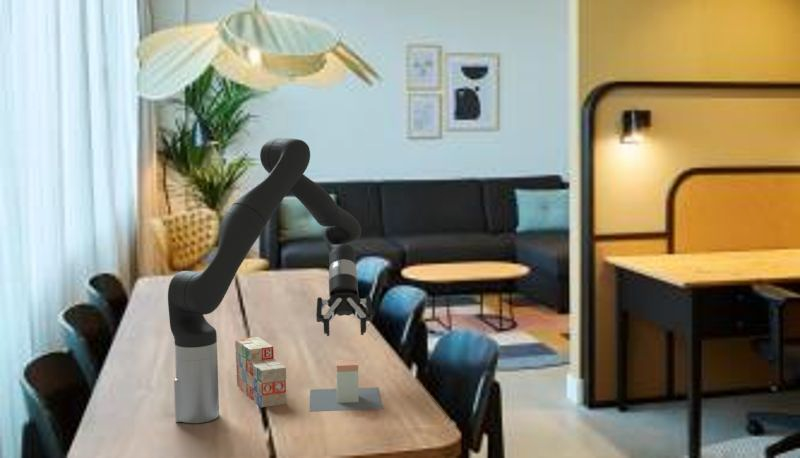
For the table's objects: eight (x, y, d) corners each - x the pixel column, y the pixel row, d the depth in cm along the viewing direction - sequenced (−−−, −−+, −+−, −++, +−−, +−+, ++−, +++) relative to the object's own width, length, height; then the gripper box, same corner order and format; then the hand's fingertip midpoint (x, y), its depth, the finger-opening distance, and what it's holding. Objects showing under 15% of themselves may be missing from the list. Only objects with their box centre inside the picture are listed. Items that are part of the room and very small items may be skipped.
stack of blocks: (287, 405, 200) (286, 354, 198) (261, 409, 197) (260, 357, 195) (259, 382, 219) (258, 335, 217) (236, 385, 216) (234, 338, 214)
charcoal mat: (309, 413, 193) (309, 411, 193) (310, 391, 210) (310, 389, 210) (383, 410, 195) (383, 408, 195) (378, 388, 212) (378, 387, 212)
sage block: (337, 402, 199) (336, 365, 198) (337, 396, 204) (336, 360, 203) (358, 402, 200) (358, 365, 199) (357, 395, 205) (357, 359, 204)
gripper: (315, 273, 217) (316, 326, 207) (370, 271, 219) (374, 325, 209) (316, 289, 223) (316, 342, 213) (369, 288, 225) (373, 341, 214)
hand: (345, 333), depth 211 cm, fingers open, 8 cm apart
